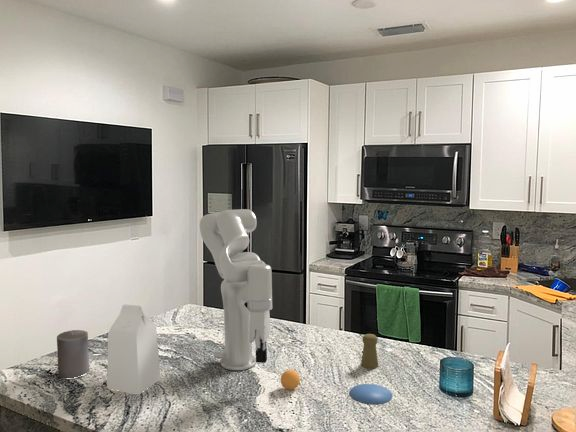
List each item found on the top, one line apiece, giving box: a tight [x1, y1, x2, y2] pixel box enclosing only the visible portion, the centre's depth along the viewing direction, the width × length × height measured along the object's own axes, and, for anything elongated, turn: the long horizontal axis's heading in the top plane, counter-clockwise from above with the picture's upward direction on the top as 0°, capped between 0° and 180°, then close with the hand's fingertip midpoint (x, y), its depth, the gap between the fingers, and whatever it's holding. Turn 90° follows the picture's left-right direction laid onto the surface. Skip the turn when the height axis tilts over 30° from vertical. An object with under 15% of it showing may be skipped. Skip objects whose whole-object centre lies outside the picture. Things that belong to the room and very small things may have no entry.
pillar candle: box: [56, 329, 90, 379], centre depth 166 cm, size 10×10×15 cm
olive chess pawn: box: [360, 333, 379, 370], centre depth 172 cm, size 6×6×11 cm
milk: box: [106, 303, 162, 395], centre depth 157 cm, size 12×12×26 cm
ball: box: [280, 369, 301, 391], centre depth 155 cm, size 6×6×6 cm
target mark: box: [349, 383, 393, 405], centre depth 151 cm, size 13×13×1 cm
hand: (261, 361), depth 154 cm, fingers closed
